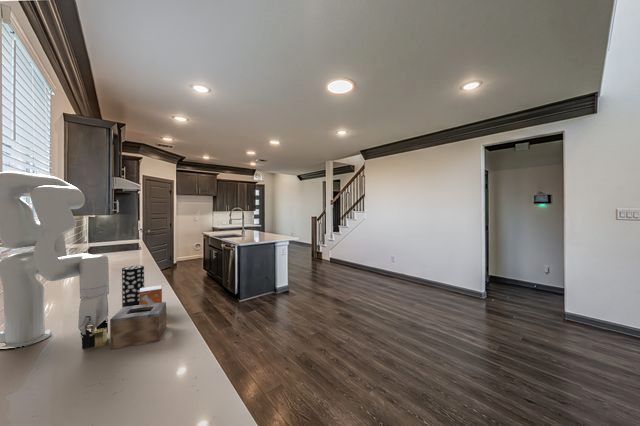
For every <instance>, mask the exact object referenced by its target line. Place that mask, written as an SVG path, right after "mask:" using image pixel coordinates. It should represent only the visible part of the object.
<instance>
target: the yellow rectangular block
mask: <svg viewBox="0 0 640 426" xmlns="http://www.w3.org/2000/svg"><path fill="white" fill-rule="evenodd" d="M88 330H89V331H90V332H91V329H88ZM93 335H95V346H94V347H93V348H99V347H104V346H105V344H107V343H108V333H107V328H103V329H96V328H95V330H94V334H93ZM93 348H92V349H93Z"/></svg>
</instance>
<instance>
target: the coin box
mask: <svg viewBox="0 0 640 426" xmlns="http://www.w3.org/2000/svg"><path fill="white" fill-rule="evenodd" d="M109 329H110V330H109V331H110V332H109V335H110V339H109V340H110V343H109V344H110V350H114V349H120V348H121V349H122V348H127V347H133V346H139V345H145V344H152V343H158V342H160V341H161V339H162V337H163V334H164V332H165V330H166V329H167V302H166V301H165V302H164V301H162V302H161V303H153V304H144V305H135V306H126V307H123V308H122V307H121V309H120V310H119V311H118V312H116V314H114V315H113V316H112V317H111V318H110V319H109Z"/></svg>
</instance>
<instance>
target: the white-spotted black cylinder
mask: <svg viewBox="0 0 640 426" xmlns="http://www.w3.org/2000/svg"><path fill="white" fill-rule="evenodd" d="M140 288H145V266H144V265H131V266H126V267H123V268H121V301H122V303H121V305H122V306H121V309H122V308H123V307H126V306H135V305H139V294H140Z"/></svg>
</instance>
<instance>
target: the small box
mask: <svg viewBox="0 0 640 426" xmlns="http://www.w3.org/2000/svg"><path fill="white" fill-rule="evenodd" d="M161 302H163V286H162V285H152V286H144V288H140V294H139V305H144V304H153V303H161Z"/></svg>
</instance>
